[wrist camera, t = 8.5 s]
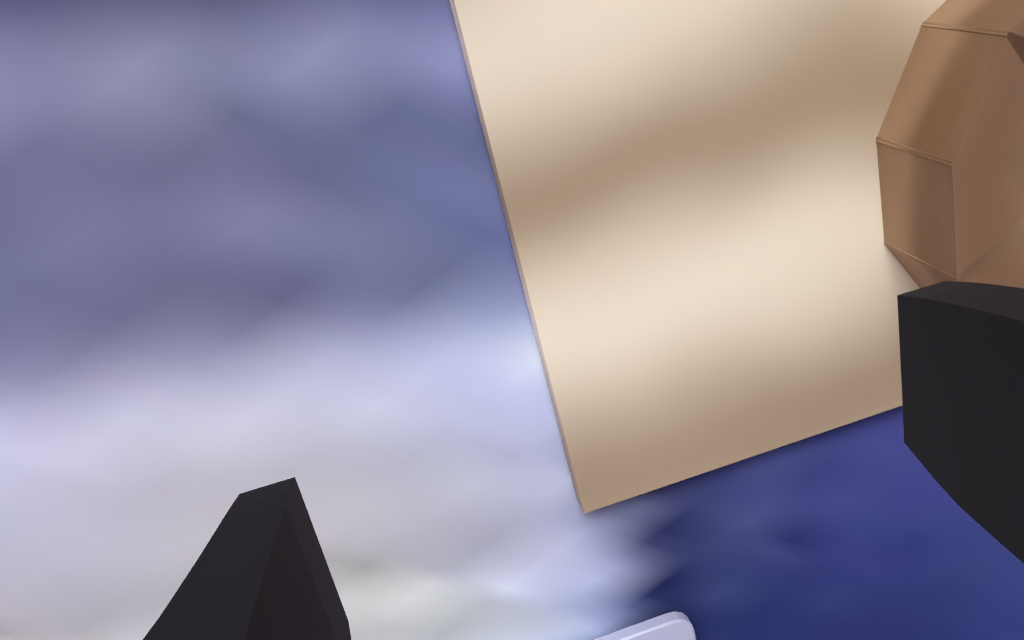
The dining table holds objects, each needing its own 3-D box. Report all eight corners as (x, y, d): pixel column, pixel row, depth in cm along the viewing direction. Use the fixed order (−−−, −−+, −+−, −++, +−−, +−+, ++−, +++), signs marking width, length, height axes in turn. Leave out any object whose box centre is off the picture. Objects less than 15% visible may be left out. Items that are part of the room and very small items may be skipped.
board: (1236, 276, 24) (1257, 284, 23) (577, 499, 22) (584, 513, 22) (1293, -367, 18) (1323, -376, 18) (414, -139, 16) (418, -142, 16)
